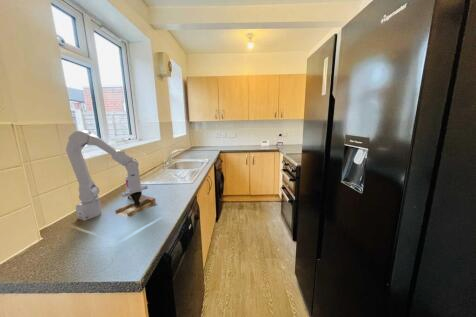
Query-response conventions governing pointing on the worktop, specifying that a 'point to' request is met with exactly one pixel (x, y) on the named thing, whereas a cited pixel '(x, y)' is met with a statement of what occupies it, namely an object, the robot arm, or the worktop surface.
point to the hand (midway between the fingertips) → (137, 204)
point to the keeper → (142, 201)
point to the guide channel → (134, 208)
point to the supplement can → (128, 187)
